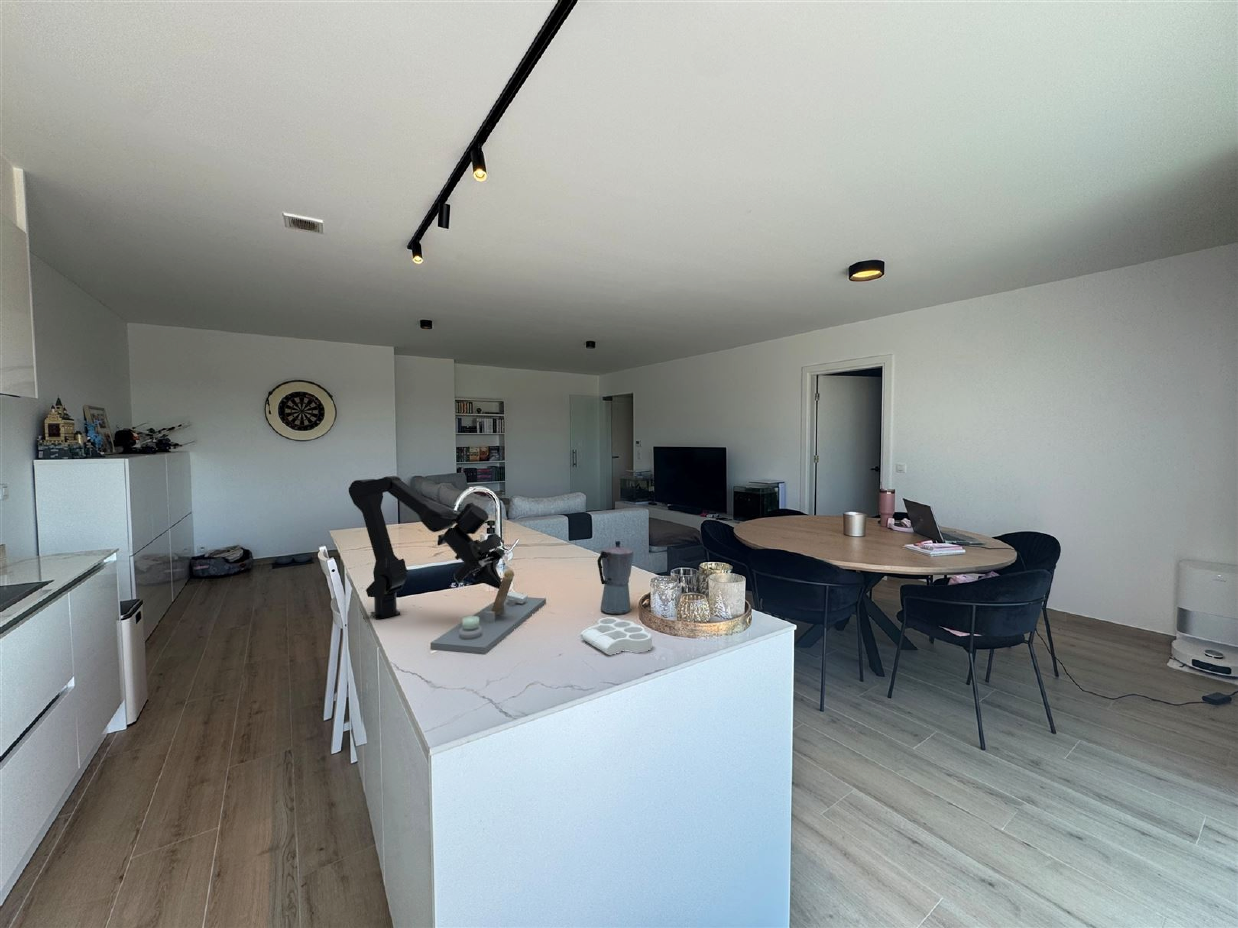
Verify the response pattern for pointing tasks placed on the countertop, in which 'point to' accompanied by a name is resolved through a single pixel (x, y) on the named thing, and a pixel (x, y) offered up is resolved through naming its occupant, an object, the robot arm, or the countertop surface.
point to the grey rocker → (517, 597)
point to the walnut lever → (502, 592)
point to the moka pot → (615, 578)
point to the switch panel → (488, 627)
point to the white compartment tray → (617, 636)
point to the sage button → (470, 622)
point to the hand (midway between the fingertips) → (501, 587)
